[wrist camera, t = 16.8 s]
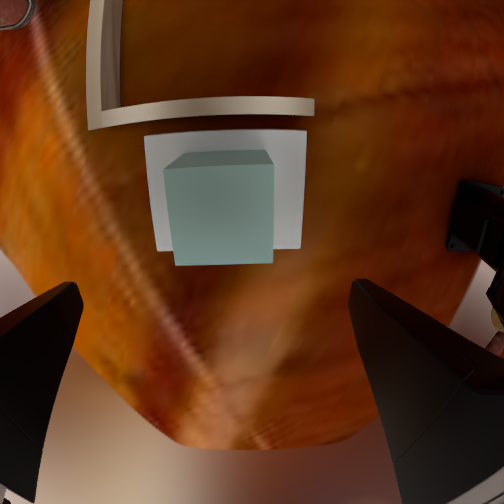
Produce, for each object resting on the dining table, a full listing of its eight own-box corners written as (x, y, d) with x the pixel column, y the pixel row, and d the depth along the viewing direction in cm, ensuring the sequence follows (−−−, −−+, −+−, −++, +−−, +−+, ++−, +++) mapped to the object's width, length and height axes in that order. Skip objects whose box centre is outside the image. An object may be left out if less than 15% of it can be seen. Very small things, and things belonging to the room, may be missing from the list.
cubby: (298, -65, 10) (306, -84, 8) (303, 115, 17) (314, 116, 14) (117, -49, 10) (102, -64, 7) (108, 126, 17) (88, 130, 14)
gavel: (472, 403, 33) (434, 413, 32) (463, 383, 37) (425, 391, 36) (549, 309, 22) (522, 310, 21) (532, 289, 26) (503, 286, 25)
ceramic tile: (302, 129, 18) (306, 131, 17) (297, 241, 21) (300, 248, 20) (149, 134, 17) (144, 136, 16) (161, 243, 21) (157, 251, 20)
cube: (265, 149, 17) (274, 164, 13) (265, 225, 19) (273, 262, 15) (183, 153, 17) (163, 169, 12) (190, 227, 19) (175, 265, 15)
